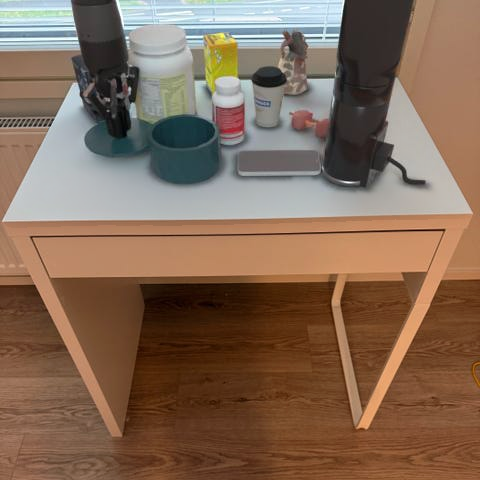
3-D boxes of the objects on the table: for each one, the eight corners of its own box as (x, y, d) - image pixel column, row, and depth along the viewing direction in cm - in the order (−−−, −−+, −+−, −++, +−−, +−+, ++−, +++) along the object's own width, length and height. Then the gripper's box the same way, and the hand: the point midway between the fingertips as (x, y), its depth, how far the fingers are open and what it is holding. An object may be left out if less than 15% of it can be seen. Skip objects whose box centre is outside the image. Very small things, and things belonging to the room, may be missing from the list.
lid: (172, 133, 94) (168, 102, 90) (128, 167, 87) (121, 135, 82) (116, 116, 99) (110, 86, 94) (70, 147, 91) (60, 116, 87)
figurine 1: (308, 94, 109) (314, 35, 100) (277, 95, 109) (280, 36, 100) (304, 80, 114) (310, 23, 105) (274, 81, 114) (276, 23, 105)
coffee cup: (271, 110, 104) (273, 60, 97) (291, 124, 100) (295, 73, 93) (244, 119, 102) (244, 69, 94) (263, 133, 98) (264, 82, 90)
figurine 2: (296, 120, 104) (279, 127, 99) (299, 103, 101) (281, 110, 97) (347, 136, 99) (332, 145, 94) (351, 119, 97) (336, 127, 92)
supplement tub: (155, 105, 107) (142, 18, 94) (207, 114, 104) (201, 25, 91) (127, 132, 99) (110, 41, 86) (182, 143, 96) (173, 51, 83)
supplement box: (205, 87, 112) (202, 34, 104) (230, 83, 113) (229, 31, 105) (212, 98, 108) (209, 45, 100) (238, 94, 110) (238, 41, 101)
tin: (233, 157, 93) (232, 124, 88) (196, 191, 86) (193, 158, 81) (178, 140, 97) (174, 108, 92) (138, 171, 90) (132, 138, 85)
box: (83, 108, 106) (70, 56, 98) (108, 101, 108) (97, 50, 100) (96, 123, 102) (83, 70, 93) (122, 116, 103) (111, 64, 95)
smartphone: (238, 150, 93) (317, 149, 92) (238, 154, 93) (317, 153, 93) (237, 172, 88) (321, 171, 87) (237, 176, 89) (321, 176, 88)
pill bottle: (250, 140, 97) (251, 83, 88) (224, 149, 95) (222, 92, 86) (233, 127, 100) (232, 71, 92) (207, 135, 98) (204, 79, 90)
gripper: (89, 50, 73) (112, 155, 86) (145, 21, 81) (159, 121, 94) (51, 41, 76) (80, 144, 89) (110, 13, 84) (128, 112, 97)
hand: (120, 132), depth 92 cm, fingers closed on lid, 2 cm apart
